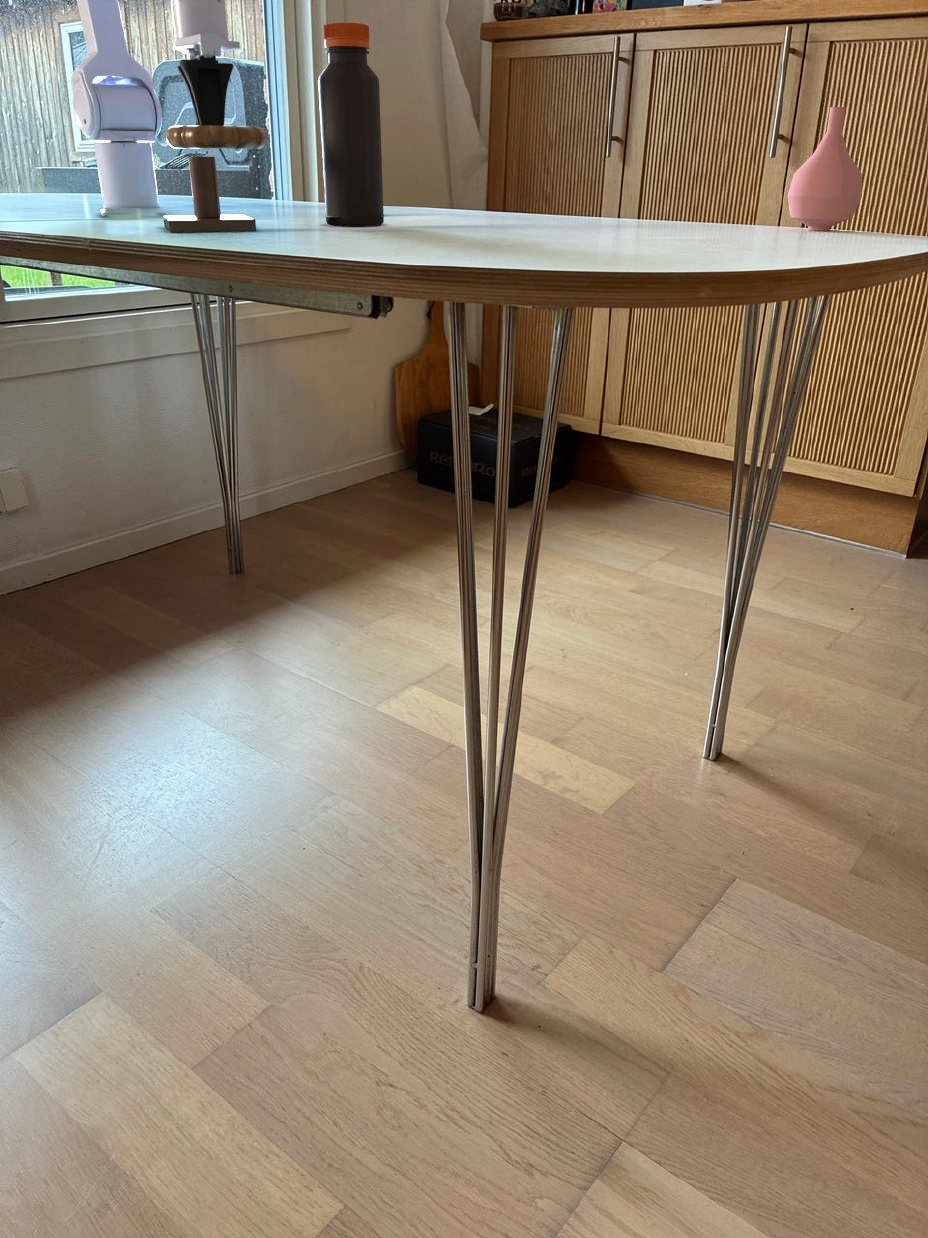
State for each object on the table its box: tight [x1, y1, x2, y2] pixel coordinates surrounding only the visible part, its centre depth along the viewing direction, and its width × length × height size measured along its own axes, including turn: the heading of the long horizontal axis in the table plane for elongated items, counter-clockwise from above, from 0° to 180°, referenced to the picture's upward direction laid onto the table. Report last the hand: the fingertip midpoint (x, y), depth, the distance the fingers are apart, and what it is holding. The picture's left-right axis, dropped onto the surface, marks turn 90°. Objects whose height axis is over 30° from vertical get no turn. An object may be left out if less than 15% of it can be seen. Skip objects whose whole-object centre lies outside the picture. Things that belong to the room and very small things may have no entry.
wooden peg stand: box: [162, 156, 257, 234], centre depth 102 cm, size 9×9×7 cm
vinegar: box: [317, 22, 385, 228], centre depth 106 cm, size 7×7×20 cm
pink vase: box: [787, 106, 863, 232], centre depth 102 cm, size 8×8×12 cm
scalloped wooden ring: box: [165, 125, 268, 150], centre depth 104 cm, size 11×11×2 cm
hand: (211, 134), depth 108 cm, fingers closed on scalloped wooden ring, 2 cm apart
